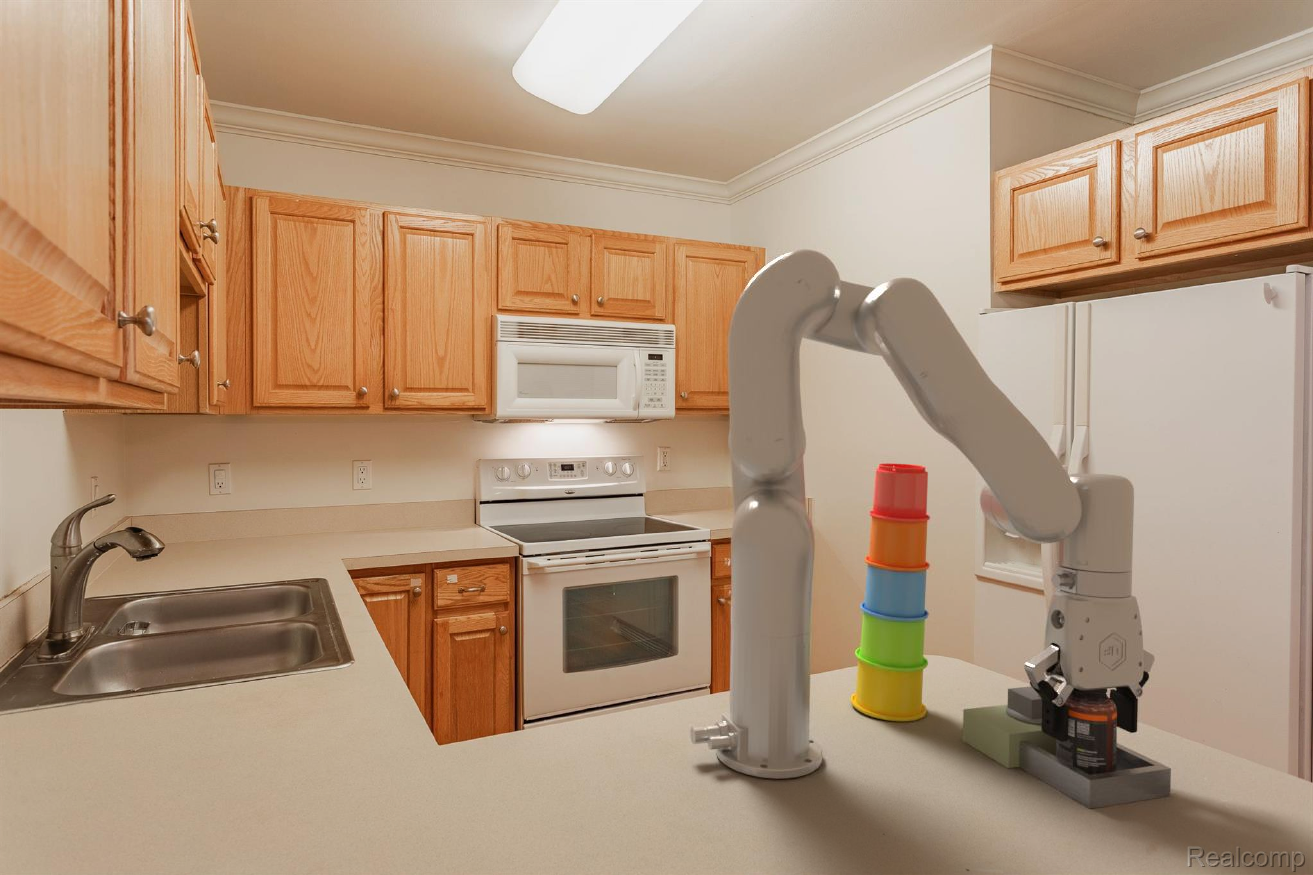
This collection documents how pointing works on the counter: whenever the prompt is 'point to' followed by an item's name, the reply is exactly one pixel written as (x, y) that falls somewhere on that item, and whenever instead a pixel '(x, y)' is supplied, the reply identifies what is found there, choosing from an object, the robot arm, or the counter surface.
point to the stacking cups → (895, 598)
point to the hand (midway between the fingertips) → (1089, 732)
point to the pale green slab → (1008, 727)
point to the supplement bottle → (1090, 732)
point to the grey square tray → (1099, 777)
